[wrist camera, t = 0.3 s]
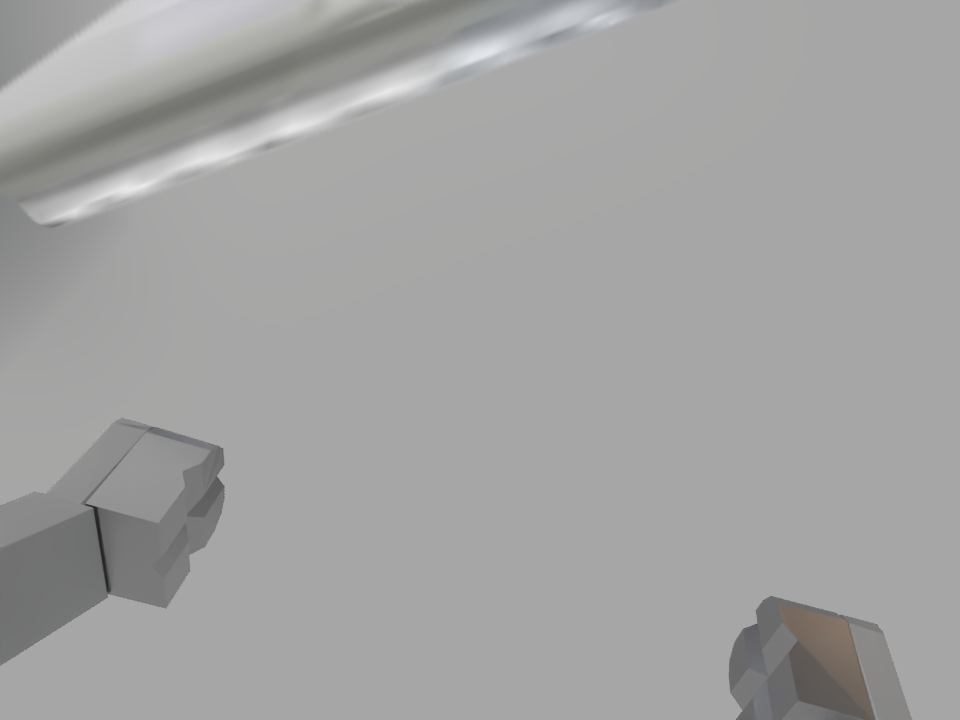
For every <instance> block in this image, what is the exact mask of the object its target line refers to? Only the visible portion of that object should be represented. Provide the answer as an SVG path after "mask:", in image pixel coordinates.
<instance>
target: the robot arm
mask: <svg viewBox="0 0 960 720" xmlns="http://www.w3.org/2000/svg"><path fill="white" fill-rule="evenodd" d="M223 466H224V454H223V448H221V447H219V446H217V445H214V444H210V443H207V442H204V441H200V440H197V439H193V438H191V437H187V436H184V435H181V434H177V433H174V432H171V431H167V430H164V429H161V428H157V427H152V426H149V425H146V424H142V423H139V422H135V421H132V420H129V419H125V418H121V419H119V420H117V421H115V422H113V423H111V424H110V425H109V426H108V427H107V428H106V429H105V431H104V432H103V433H102V434H101V435H100V436H99V437H98V438H97V439H96V440H95V441H94V442H93V444H92V445H91V446H90V447H89V448H88V449H87V450H86V451H85V452H84V453H83V454H82V455H81V456H80V458H78V460H77V461H76V462H75V463H74V464H73V465H72V466H71V467H70V468H69V469H68V470H67V471H66V472H65V474H64V475H63V476H62V477H61V478H60V479H59V480H58V481H57V482H56V484H54V485H53V487H51V489H50V490H49V491H48V492H47V493H46V494H43V493H39V492H33V493H30V494H28V495H25V496H23V497H20V498H18V499H16V500H13V501H10V502H8V503H6V504H3V505H0V666H1V665H2V664H4V663H5V662H7V661H8V660H10V659H12V658H13V657H15V656H16V655H18V654H19V653H21V652H23V651H24V650H26V649H27V648H29V647H31V646H32V645H34V644H35V643H37V642H38V641H40V640H42V639H43V638H45V637H46V636H48V635H49V634H51V633H52V632H54V631H56V630H57V629H59V628H61V627H62V626H64V625H65V624H67V623H68V622H70V621H72V620H73V619H75V618H76V617H78V616H79V615H81V614H83V613H84V612H86V611H87V610H89V609H90V608H92V607H94V606H95V605H97V604H98V603H100V602H101V601H103V600H104V599H106V598H107V597H108V594H111V595H115V596H118V597H123V598H127V599H130V600H134V601H138V602H143V603H147V604H151V605H154V606H158V607H162V608H167V606H168V604H169V603H170V602H171V600H172V598H173V597H174V595H175V594H176V592H177V590H178V589H179V587H180V586H181V584H182V583H183V581H184V579H185V578H186V576H187V575H188V573H189V572H190V563H189V555H190V554H192V553H194V552H196V551H197V550H200V549H202V548H203V547H205V546H206V544H207V542H208V541H209V539H210V537H211V536H212V534H213V532H214V531H215V528H216V525H217V523H218V520H219V518H220V515H221V513H222V508H223V503H224V485H223V484H222V482H221V481H220V480H219V478H218V477H217V475H218V473H219V472H220V470H221V469H222V468H223ZM756 615H757V622H758V623H757V624H754V625H752V626H750V627H746V628H744V629H743V630H742V631H741V633H740V635H739V636H738V638H737V639H736V641H735V643H734V646H733V650H732V653H731V657H730V662H729V683H730V692H731V694H732V696H733V697H734V698H735V700H736V701H737V703H738V704H739V706H740V707H741V708H742V710H743V711H742V712H741V714H740V715H739V716H738V718H737V719H736V720H912V718H911V715H910V712H909V709H908V706H907V703H906V700H905V697H904V694H903V691H902V688H901V685H900V682H899V679H898V676H897V673H896V670H895V667H894V664H893V661H892V658H891V655H890V651H889V648H888V645H887V642H886V639H885V636H884V633H883V631H882V630H881V629H880V628H879V626H878V625H877V624H874V623H870V622H867V621H863V620H859V619H855V618H852V617H848V616H844V615H838V614H837V613H834V612H830V611H827V610H823V609H819V608H815V607H811V606H807V605H804V604H800V603H795V602H792V601H788V600H784V599H781V598H777V597H773V596H770V597H768V598H766V599H765V600H763V601H762V603H761V604H760V605H759V607H758V608H757V610H756Z"/></svg>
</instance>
